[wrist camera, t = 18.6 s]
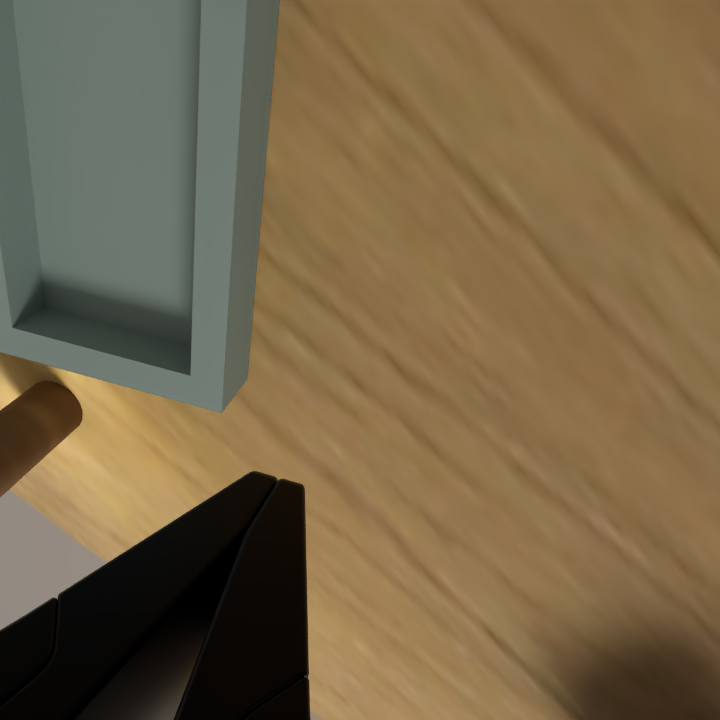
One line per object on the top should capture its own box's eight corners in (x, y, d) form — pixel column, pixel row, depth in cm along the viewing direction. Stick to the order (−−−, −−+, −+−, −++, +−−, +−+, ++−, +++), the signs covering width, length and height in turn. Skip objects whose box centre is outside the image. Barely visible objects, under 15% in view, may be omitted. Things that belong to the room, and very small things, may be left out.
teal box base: (311, -379, 13) (275, -455, 11) (247, 379, 23) (221, 412, 21) (-200, -443, 15) (-316, -521, 13) (-53, 299, 25) (-105, 323, 23)
